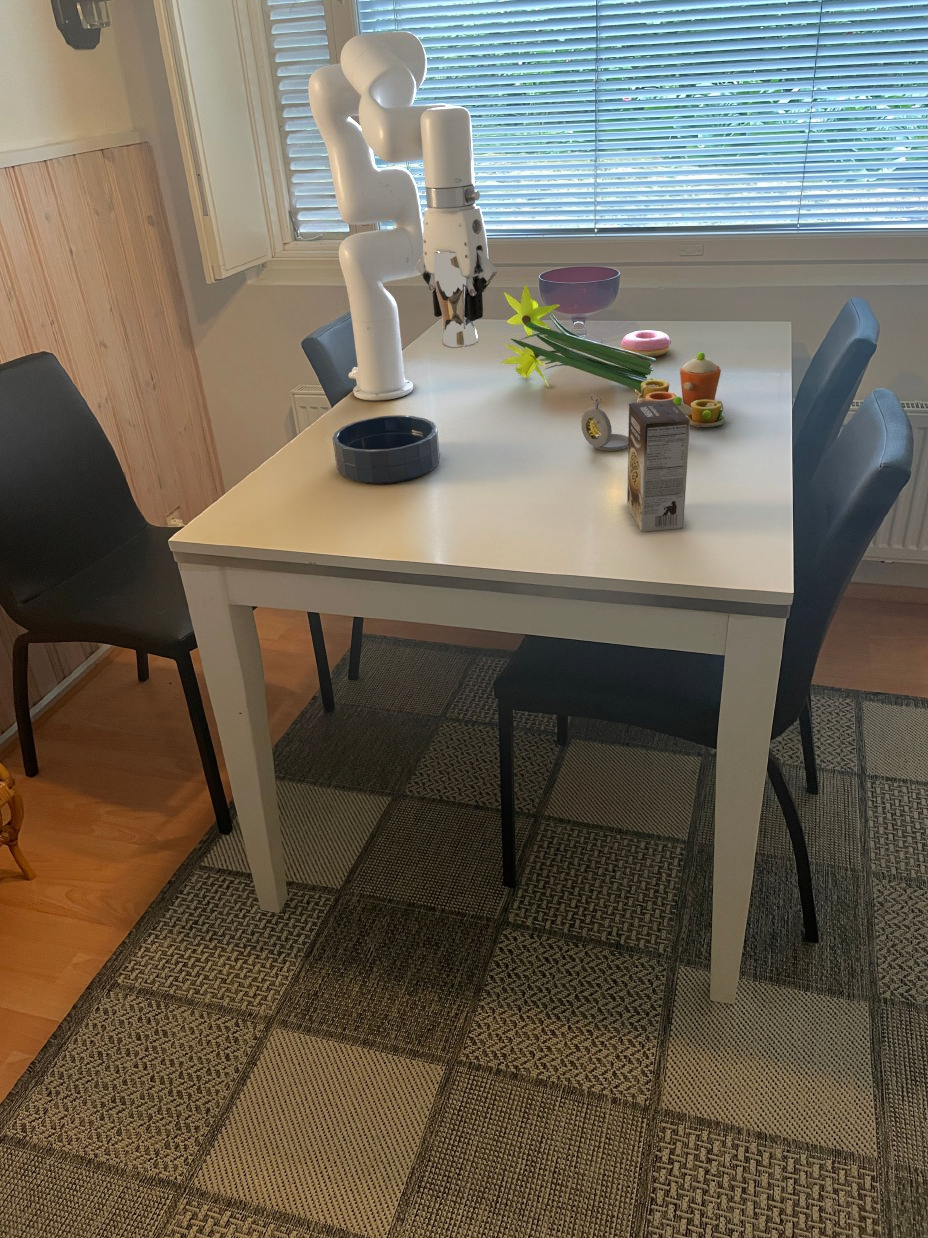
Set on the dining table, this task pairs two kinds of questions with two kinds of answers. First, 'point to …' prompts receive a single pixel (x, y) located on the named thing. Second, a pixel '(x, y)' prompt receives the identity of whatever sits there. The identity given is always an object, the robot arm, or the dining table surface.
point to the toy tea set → (691, 392)
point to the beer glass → (453, 301)
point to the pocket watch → (601, 430)
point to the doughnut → (646, 343)
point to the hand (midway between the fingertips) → (458, 315)
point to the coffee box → (657, 464)
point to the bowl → (386, 449)
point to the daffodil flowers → (528, 358)
